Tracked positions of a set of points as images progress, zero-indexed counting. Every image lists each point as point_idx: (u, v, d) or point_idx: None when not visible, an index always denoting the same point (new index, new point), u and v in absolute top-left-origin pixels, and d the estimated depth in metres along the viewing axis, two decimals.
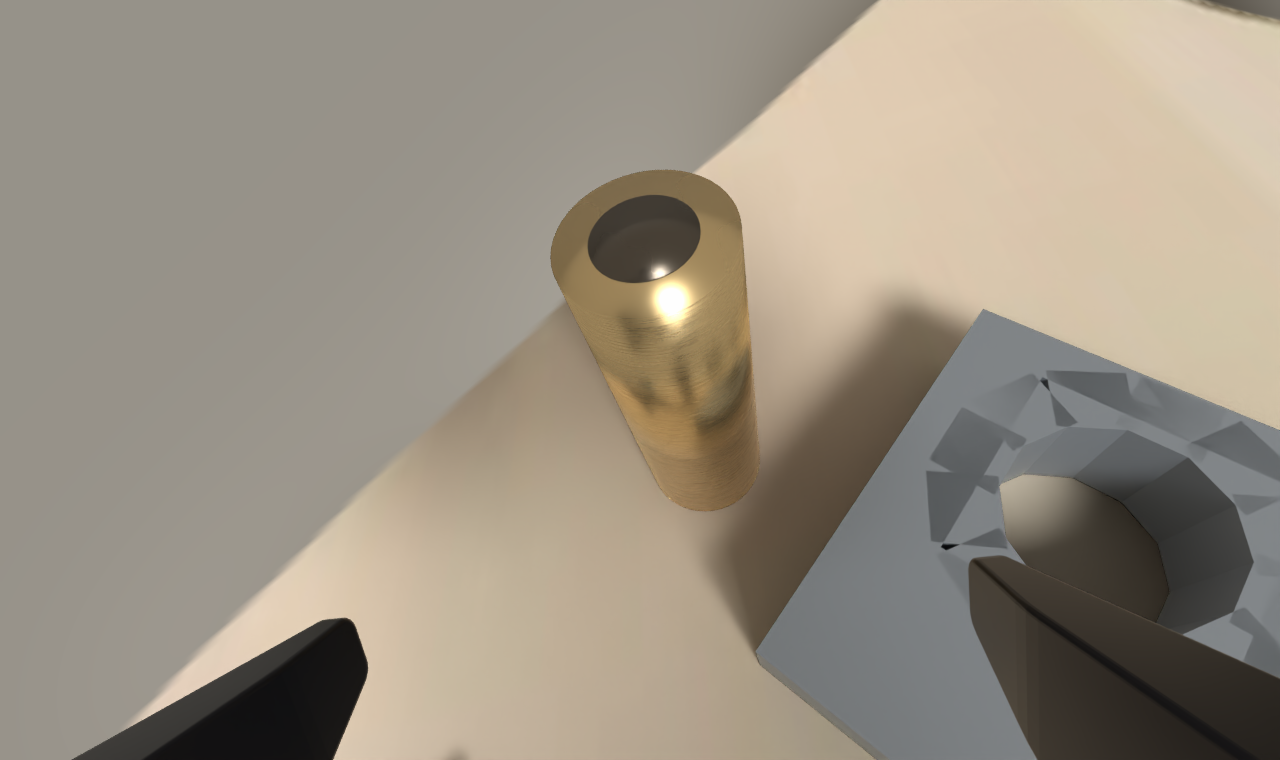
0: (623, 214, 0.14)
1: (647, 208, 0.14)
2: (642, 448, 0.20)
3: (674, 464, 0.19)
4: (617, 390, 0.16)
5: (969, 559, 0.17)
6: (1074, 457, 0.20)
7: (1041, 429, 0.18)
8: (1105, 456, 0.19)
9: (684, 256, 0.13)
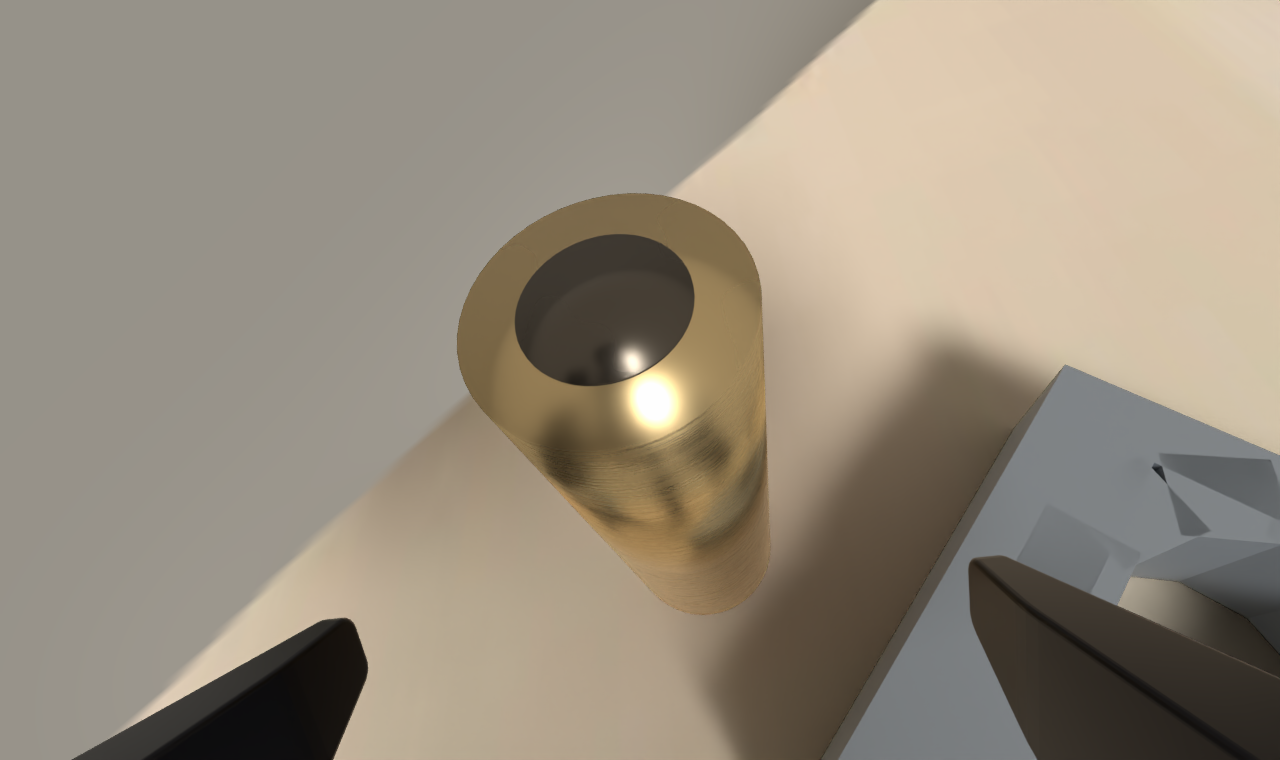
0: (573, 265, 0.09)
1: (610, 257, 0.09)
2: None
3: (661, 581, 0.14)
4: (575, 508, 0.11)
5: None
6: (1191, 564, 0.15)
7: (1160, 539, 0.13)
8: (1237, 567, 0.14)
9: (668, 340, 0.08)
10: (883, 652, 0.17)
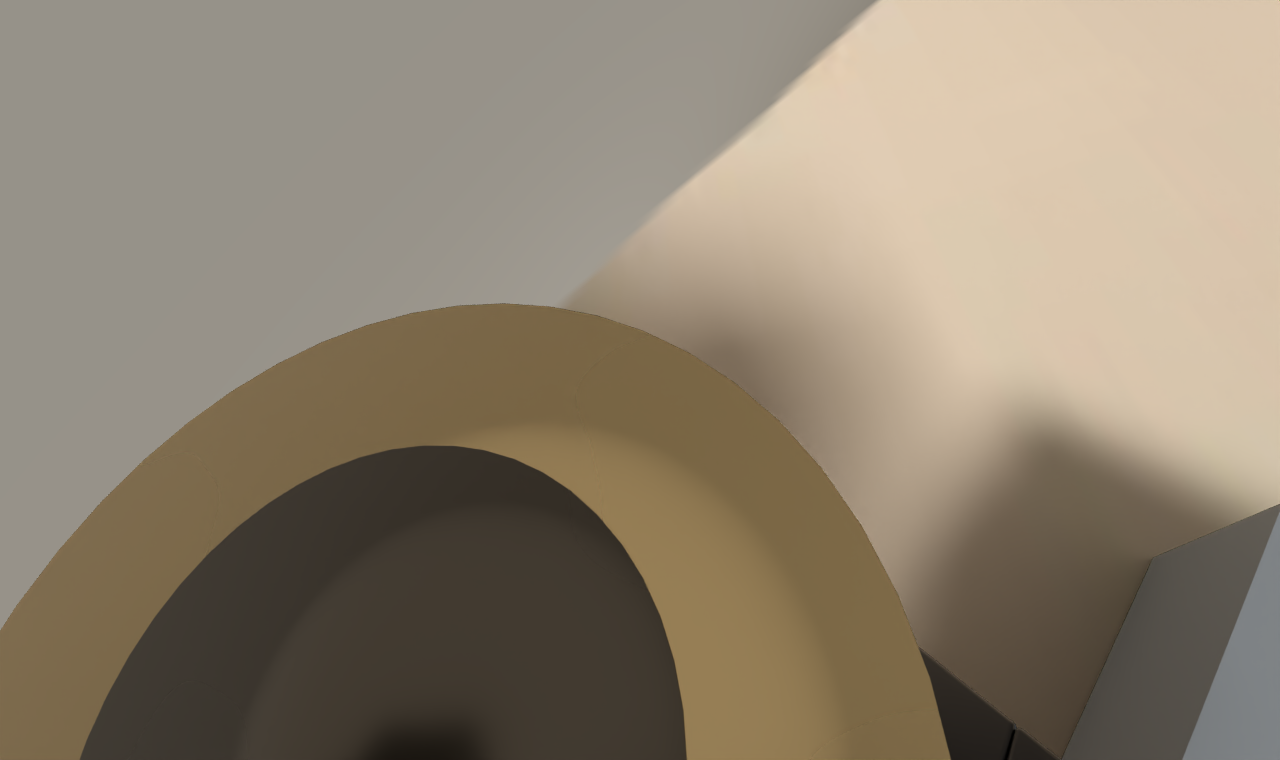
0: (305, 555, 0.03)
1: (419, 535, 0.03)
2: None
3: None
4: None
5: None
6: None
7: None
8: None
9: None
10: None
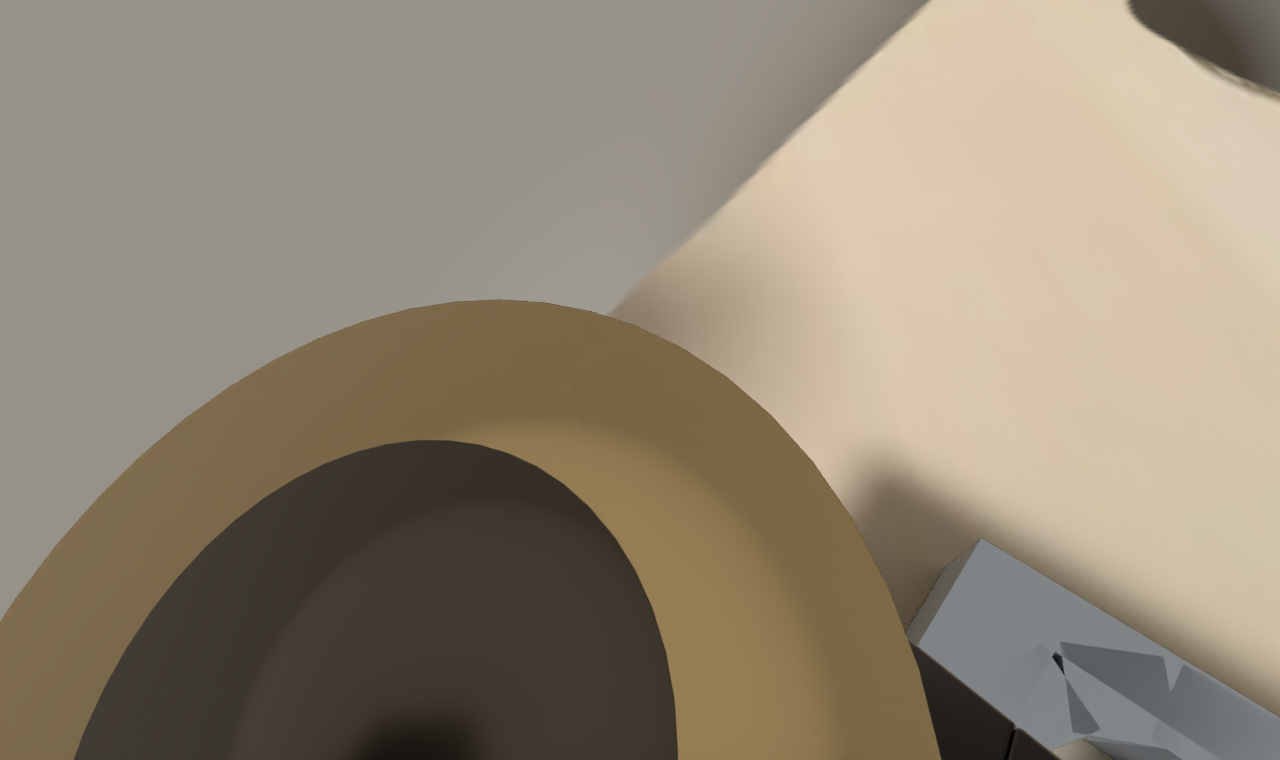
0: (301, 549, 0.03)
1: (415, 531, 0.03)
2: None
3: None
4: None
5: None
6: (1091, 738, 0.16)
7: (1053, 735, 0.14)
8: (1132, 749, 0.15)
9: None
10: None
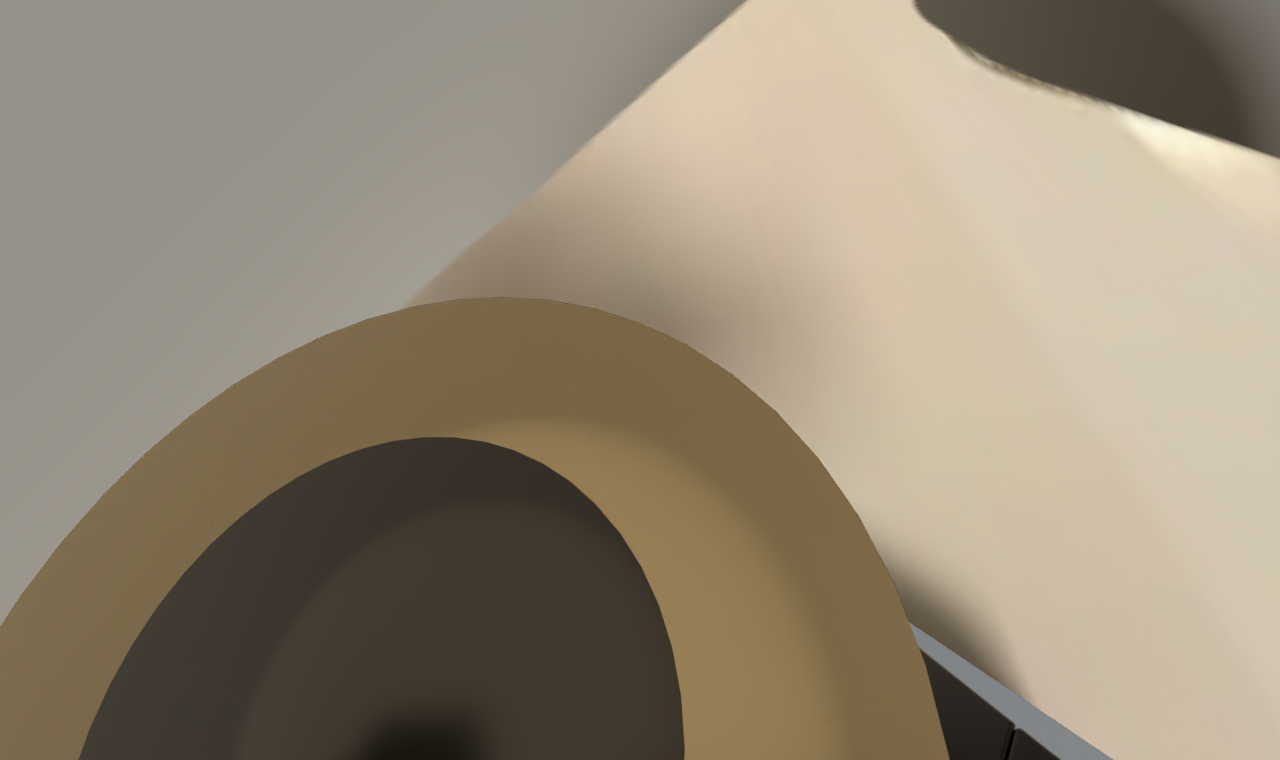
0: (306, 546, 0.03)
1: (419, 526, 0.03)
2: None
3: None
4: None
5: None
6: None
7: None
8: None
9: None
10: None
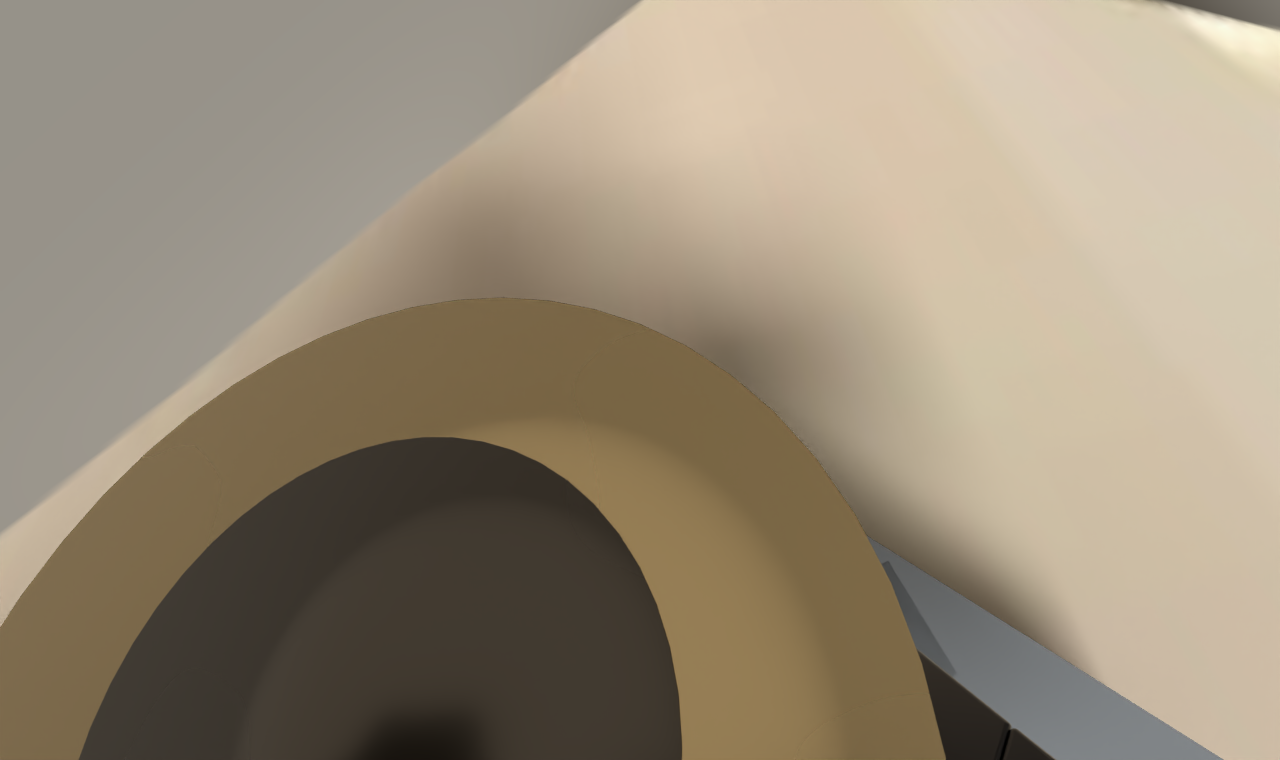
0: (306, 545, 0.03)
1: (418, 526, 0.03)
2: None
3: None
4: None
5: None
6: None
7: None
8: None
9: None
10: None
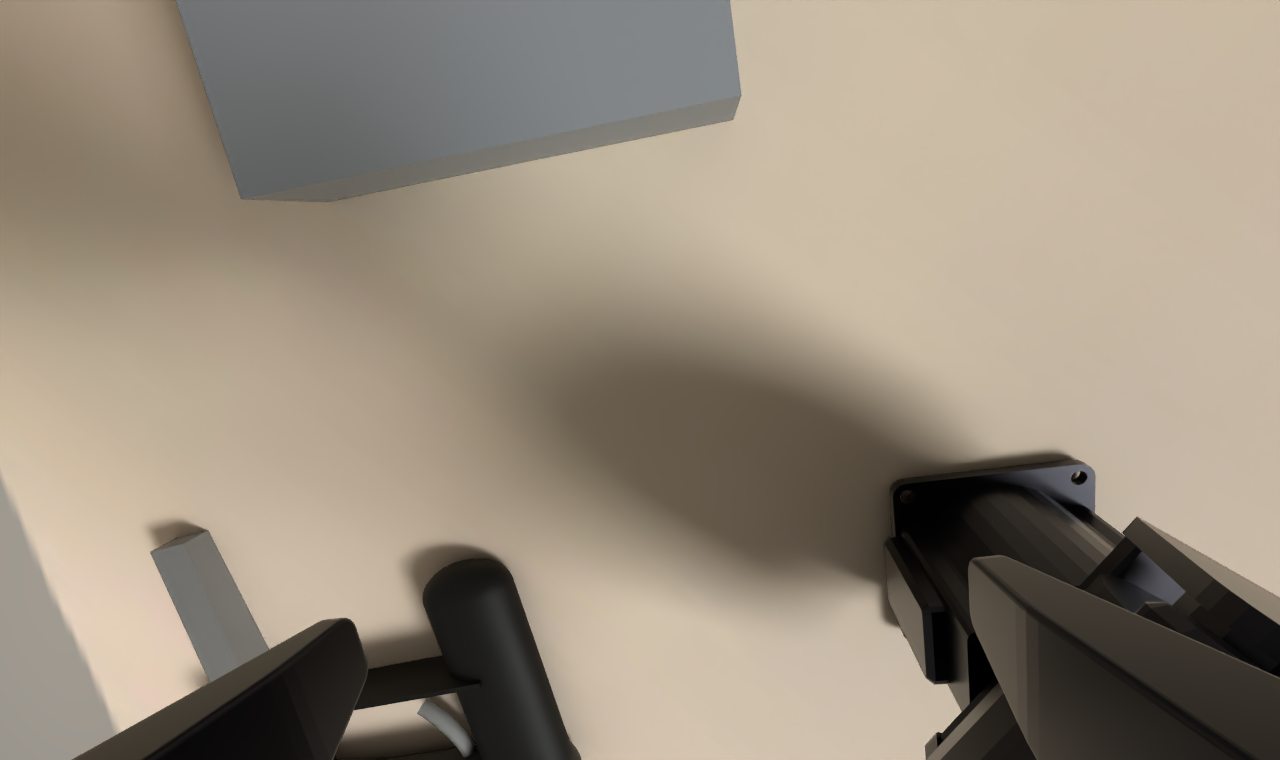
0: None
1: None
2: None
3: None
4: None
5: None
6: None
7: None
8: None
9: None
10: None
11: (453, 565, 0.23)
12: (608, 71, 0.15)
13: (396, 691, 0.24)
